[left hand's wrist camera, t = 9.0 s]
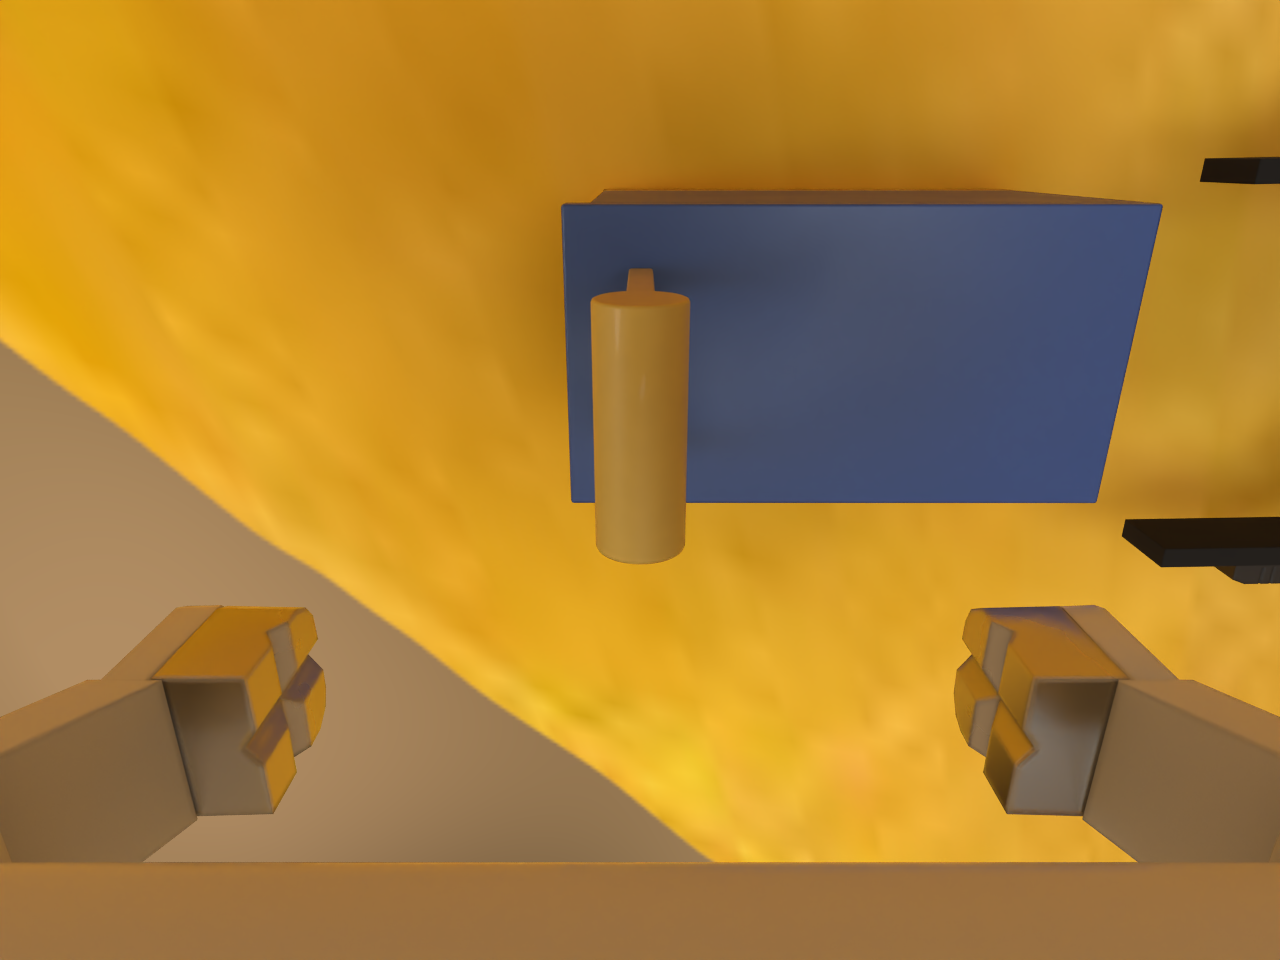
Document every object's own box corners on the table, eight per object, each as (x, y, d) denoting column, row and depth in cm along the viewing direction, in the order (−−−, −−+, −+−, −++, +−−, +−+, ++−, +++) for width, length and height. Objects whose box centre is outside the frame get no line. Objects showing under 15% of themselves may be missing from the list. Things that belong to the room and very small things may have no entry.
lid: (573, 494, 27) (545, 625, 20) (563, 202, 24) (525, 224, 16) (1084, 494, 27) (1258, 626, 20) (1148, 202, 24) (1388, 223, 16)
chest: (607, 406, 37) (595, 494, 27) (604, 189, 33) (588, 202, 24) (968, 406, 37) (1084, 494, 27) (1002, 189, 33) (1147, 201, 24)
